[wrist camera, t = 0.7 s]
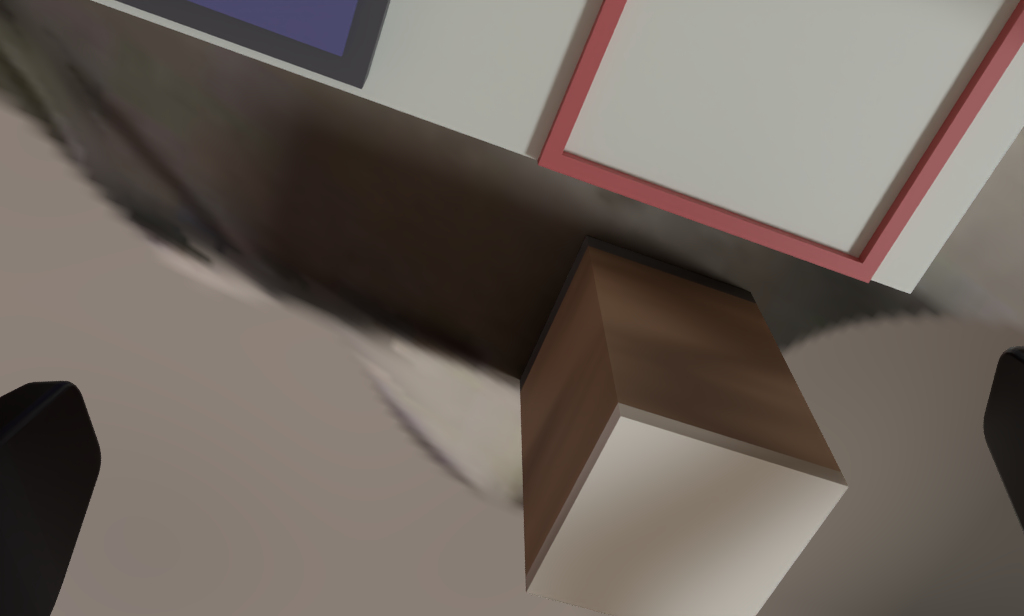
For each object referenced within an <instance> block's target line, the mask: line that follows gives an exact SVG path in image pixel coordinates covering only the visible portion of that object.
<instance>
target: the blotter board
mask: <svg viewBox="0 0 1024 616" xmlns="http://www.w3.org/2000/svg"><path fill="white" fill-rule="evenodd" d="M92 1H95V2H98V3H101V4H103V5H106V6H109V7H112V8H115V9H117V10H120V11H123V12H126V13H128V14H131V15H134V16H137V17H140V18H142V19H145V20H148V21H151V22H154V23H156V24H159V25H162V26H165V27H168V28H170V29H173V30H176V31H179V32H181V33H184V34H187V35H190V36H193V37H195V38H198V39H201V40H204V41H207V42H209V43H212V44H215V45H218V46H221V47H223V48H226V49H229V50H232V51H234V52H237V53H240V54H243V55H246V56H248V57H251V58H254V59H257V60H260V61H262V62H265V63H268V64H271V65H273V66H276V67H279V68H282V69H285V70H287V71H290V72H293V73H296V74H299V75H301V76H304V77H307V78H310V79H313V80H315V81H318V82H321V83H324V84H326V85H329V86H332V87H335V88H338V89H340V90H343V91H346V92H349V93H352V94H354V95H357V96H360V97H363V98H366V99H368V100H371V101H374V102H377V103H379V104H382V105H385V106H388V107H391V108H393V109H396V110H399V111H402V112H405V113H407V114H410V115H413V116H416V117H418V118H421V119H424V120H427V121H430V122H432V123H435V124H438V125H441V126H444V127H446V128H449V129H452V130H455V131H458V132H460V133H463V134H466V135H469V136H471V137H474V138H477V139H480V140H483V141H485V142H488V143H491V144H494V145H497V146H499V147H502V148H505V149H508V150H511V151H513V152H516V153H519V154H522V155H524V156H527V157H530V158H533V159H536V160H538V165H540V166H542V167H545V168H548V169H551V170H554V171H556V172H559V173H562V174H565V175H568V176H570V177H573V178H576V179H579V180H581V181H584V182H587V183H590V184H593V185H595V186H598V187H601V188H604V189H607V190H609V191H612V192H615V193H618V194H621V195H623V196H626V197H629V198H632V199H635V200H637V201H640V202H643V203H646V204H649V205H651V206H654V207H657V208H660V209H663V210H665V211H668V212H671V213H674V214H677V215H679V216H682V217H685V218H688V219H691V220H693V221H696V222H699V223H702V224H705V225H707V226H710V227H713V228H716V229H719V230H721V231H724V232H727V233H730V234H732V235H735V236H738V237H741V238H744V239H746V240H749V241H752V242H755V243H758V244H760V245H763V246H766V247H769V248H772V249H774V250H777V251H780V252H783V253H786V254H788V255H791V256H794V257H797V258H800V259H802V260H805V261H808V262H811V263H814V264H816V265H819V266H822V267H825V268H828V269H830V270H833V271H836V272H839V273H842V274H844V275H847V276H850V277H853V278H856V279H858V280H861V281H864V282H867V283H869V281H870V280H873V281H876V282H879V283H881V284H884V285H887V286H890V287H893V288H895V289H898V290H901V291H904V292H906V293H909V294H911V292H912V291H913V289H914V288H915V286H916V285H917V283H918V282H919V280H920V279H921V277H922V276H923V274H924V273H925V272H926V270H927V269H928V267H929V266H930V264H931V263H932V261H933V260H934V258H935V257H936V255H937V254H938V252H939V251H940V249H941V248H942V246H943V245H944V243H945V242H946V240H947V239H948V237H949V236H950V234H951V233H952V232H953V230H954V229H955V227H956V226H957V224H958V223H959V221H960V220H961V218H962V217H963V215H964V214H965V212H966V211H967V209H968V208H969V206H970V205H971V203H972V202H973V200H974V199H975V197H976V196H977V195H978V193H979V192H980V190H981V189H982V187H983V186H984V184H985V183H986V181H987V180H988V178H989V177H990V175H991V174H992V172H993V171H994V169H995V168H996V166H997V165H998V163H999V162H1000V160H1001V159H1002V157H1003V156H1004V155H1005V153H1006V152H1007V150H1008V149H1009V147H1010V146H1011V144H1012V143H1013V141H1014V140H1015V138H1016V137H1017V135H1018V134H1019V132H1020V131H1021V129H1022V128H1023V126H1024V0H92Z"/></svg>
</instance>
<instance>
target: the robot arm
mask: <svg viewBox="0 0 1024 616" xmlns="http://www.w3.org/2000/svg"><path fill="white" fill-rule="evenodd" d="M984 435H985V439H986V443H987V445H988V448H989V450H990V453H991V455H992V458H993V460H994V462H995V465H996V467H997V470H998V472H999V474H1000V477H1001V479H1002V482H1003V484H1004V487H1005V489H1006V492H1007V494H1008V497H1009V499H1010V501H1011V504H1012V506H1013V509H1014V511H1015V514H1016V516H1017V518H1018V521H1019V523H1020V526H1021V528H1022V531H1023V533H1024V346H1016V347H1011V348H1009V349H1007V350H1006V351H1005V352H1003V354H1002V355H1001V357H1000V359H999V362H998V365H997V368H996V373H995V376H994V380H993V384H992V388H991V392H990V396H989V399H988V403H987V407H986V411H985V416H984ZM100 465H101V452H100V446H99V443H98V440H97V437H96V434H95V431H94V428H93V426H92V423H91V420H90V417H89V414H88V411H87V408H86V405H85V403H84V400H83V397H82V394H81V392H80V390H79V389H78V388H77V387H76V385H74V384H73V383H71V382H68V381H50V382H49V381H48V382H32V383H28V384H25V385H23V386H21V387H19V388H17V389H15V390H13V391H11V392H9V393H7V394H6V395H3V396H1V397H0V616H50V614H51V612H52V610H53V607H54V605H55V602H56V600H57V597H58V594H59V592H60V589H61V586H62V583H63V581H64V577H65V574H66V571H67V568H68V565H69V562H70V559H71V556H72V553H73V550H74V547H75V544H76V541H77V538H78V535H79V532H80V529H81V526H82V523H83V520H84V517H85V514H86V511H87V508H88V505H89V502H90V499H91V496H92V493H93V490H94V487H95V484H96V481H97V477H98V475H99V471H100Z"/></svg>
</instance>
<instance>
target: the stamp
mask: <svg viewBox="0 0 1024 616" xmlns="http://www.w3.org/2000/svg"><path fill="white" fill-rule="evenodd" d="M520 399H521V434H522V469H523V504H524V539H525V573H526V593H529V594H533V595H536V596H540V597H544V598H548V599H552V600H555V601H559V602H563V603H567V604H571V605H574V606H578V607H582V608H586V609H590V610H593V611H597V612H601V613H604V614H608V615H612V616H756V614H757V613H758V612H759V610H760V609H761V607H762V606H763V605H764V603H765V602H766V600H767V599H768V597H769V596H770V595H771V594H772V592H773V591H774V589H775V588H776V587H777V585H778V583H779V582H780V581H781V580H782V578H783V577H784V576H785V574H786V573H787V571H788V570H789V569H790V567H791V566H792V564H793V563H794V562H795V560H796V559H797V558H798V556H799V555H800V553H801V552H802V550H803V549H804V548H805V546H806V545H807V544H808V542H809V541H810V539H811V538H812V537H813V535H814V534H815V533H816V531H817V530H818V528H819V527H820V525H821V524H822V523H823V522H824V520H825V519H826V517H827V516H828V515H829V513H830V512H831V510H832V509H833V508H834V506H835V505H836V504H837V502H838V501H839V499H840V498H841V497H842V495H843V494H844V492H845V491H846V490H847V488H848V484H847V483H846V480H845V478H844V476H843V475H842V473H841V470H840V469H839V467H838V465H837V463H836V461H835V459H834V457H833V455H832V453H831V451H830V449H829V447H828V445H827V443H826V441H825V439H824V437H823V435H822V433H821V431H820V429H819V427H818V425H817V423H816V421H815V419H814V417H813V415H812V413H811V411H810V409H809V407H808V405H807V403H806V401H805V399H804V397H803V396H802V393H801V391H800V389H799V387H798V385H797V384H796V381H795V379H794V377H793V375H792V373H791V372H790V370H789V368H788V366H787V364H786V362H785V360H784V358H783V356H782V354H781V352H780V350H779V348H778V346H777V344H776V342H775V340H774V338H773V336H772V334H771V332H770V330H769V328H768V326H767V324H766V322H765V320H764V318H763V316H762V314H761V312H760V310H759V308H758V306H757V304H756V302H755V300H754V298H753V296H752V294H751V292H748V291H746V290H743V289H740V288H737V287H734V286H731V285H728V284H725V283H722V282H720V281H717V280H714V279H711V278H708V277H705V276H702V275H699V274H696V273H694V272H691V271H688V270H685V269H682V268H679V267H676V266H673V265H670V264H668V263H665V262H662V261H659V260H656V259H653V258H650V257H647V256H644V255H642V254H639V253H636V252H633V251H630V250H627V249H624V248H621V247H618V246H616V245H613V244H610V243H607V242H604V241H601V240H598V239H595V238H592V237H590V236H587V235H586V237H585V239H584V241H583V243H582V245H581V248H580V250H579V252H578V254H577V256H576V259H575V261H574V263H573V265H572V267H571V269H570V272H569V274H568V276H567V278H566V280H565V283H564V285H563V287H562V289H561V291H560V293H559V296H558V298H557V300H556V302H555V304H554V307H553V309H552V311H551V313H550V315H549V317H548V320H547V322H546V324H545V326H544V328H543V331H542V333H541V335H540V337H539V339H538V341H537V344H536V346H535V348H534V350H533V352H532V355H531V357H530V359H529V361H528V363H527V365H526V368H525V370H524V372H523V374H522V376H521V379H520Z"/></svg>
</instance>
